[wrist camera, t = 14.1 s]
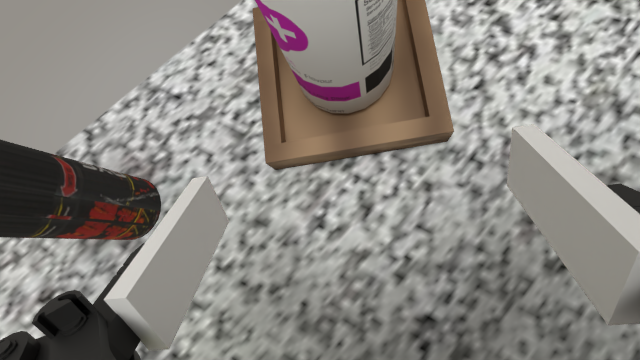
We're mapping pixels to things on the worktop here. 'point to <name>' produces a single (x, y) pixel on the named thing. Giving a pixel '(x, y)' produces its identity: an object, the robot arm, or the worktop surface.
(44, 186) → the deodorant
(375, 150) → the tray
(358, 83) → the supplement can
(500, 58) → the worktop surface
